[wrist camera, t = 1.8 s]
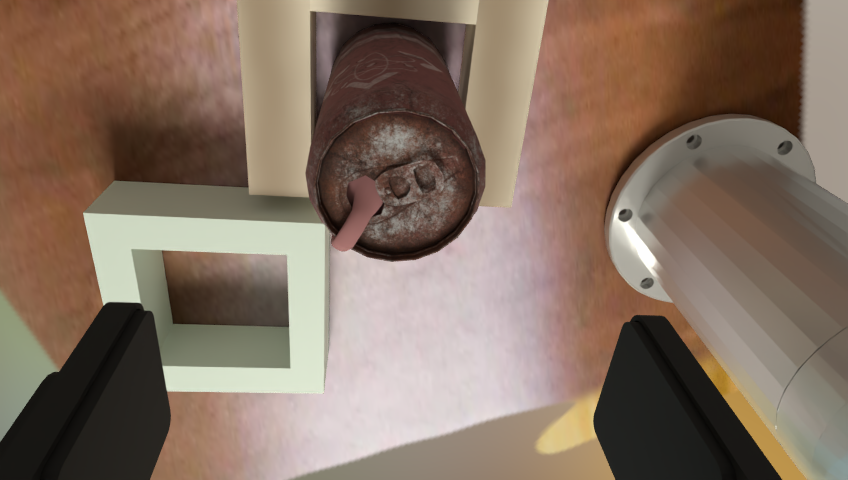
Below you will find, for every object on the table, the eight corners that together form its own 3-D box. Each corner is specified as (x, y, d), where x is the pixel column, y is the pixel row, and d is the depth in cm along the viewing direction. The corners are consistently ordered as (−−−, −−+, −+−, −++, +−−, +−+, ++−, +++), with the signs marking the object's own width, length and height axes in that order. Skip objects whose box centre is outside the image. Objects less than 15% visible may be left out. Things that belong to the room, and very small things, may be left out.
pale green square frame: (330, 191, 34) (324, 223, 30) (328, 351, 40) (324, 393, 36) (114, 180, 33) (83, 212, 29) (145, 347, 38) (122, 390, 35)
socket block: (534, -17, 29) (550, -9, 26) (500, 185, 34) (511, 207, 32) (247, -43, 28) (234, -38, 25) (259, 171, 33) (249, 194, 30)
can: (308, 102, 31) (265, 225, 19) (371, -4, 29) (366, 60, 17) (403, 159, 33) (418, 303, 21) (468, 64, 31) (528, 166, 19)
